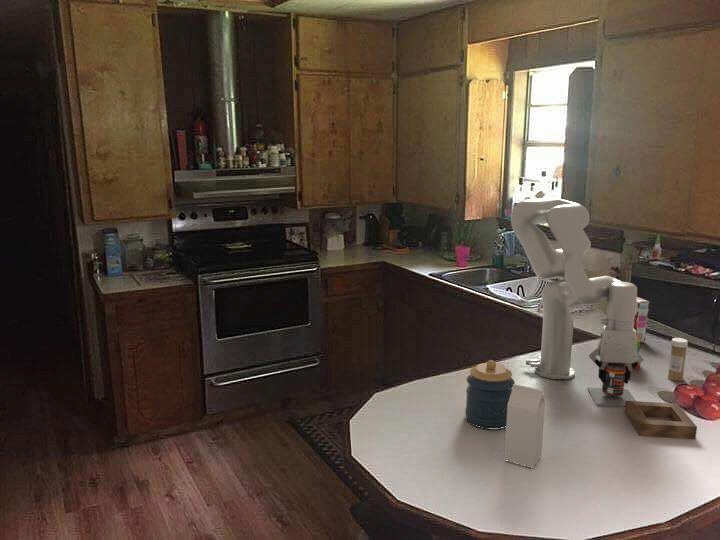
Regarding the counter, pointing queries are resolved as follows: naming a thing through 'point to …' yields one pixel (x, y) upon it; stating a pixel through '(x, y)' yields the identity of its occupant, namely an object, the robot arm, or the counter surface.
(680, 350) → the sprinkles bottle
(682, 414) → the pocket block
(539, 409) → the milk carton
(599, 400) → the slate coaster
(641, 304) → the candy bar box
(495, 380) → the canister
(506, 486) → the counter surface
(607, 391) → the supplement bottle
